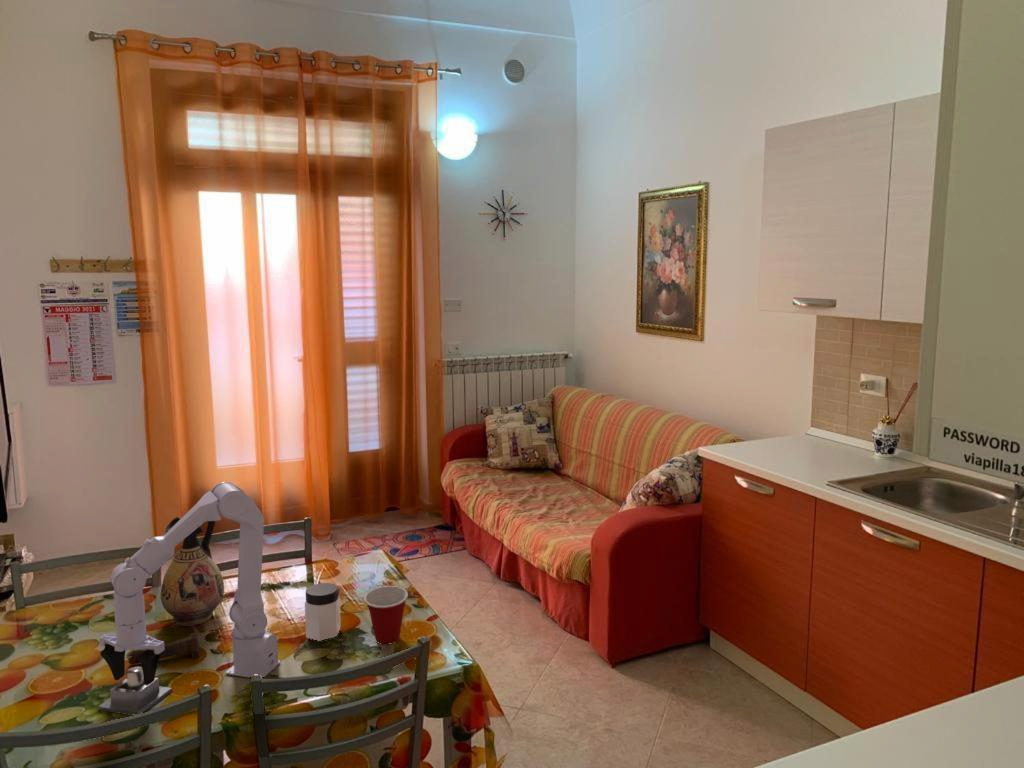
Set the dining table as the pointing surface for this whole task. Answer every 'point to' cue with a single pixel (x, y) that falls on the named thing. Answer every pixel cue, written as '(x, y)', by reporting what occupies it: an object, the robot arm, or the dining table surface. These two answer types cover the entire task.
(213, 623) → the dining table surface
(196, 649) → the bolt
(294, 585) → the dining table surface
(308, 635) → the jar
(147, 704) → the square socket base plate
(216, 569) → the ceramic jug
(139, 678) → the pale grey cylinder
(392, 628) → the plastic cup
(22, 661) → the dining table surface
